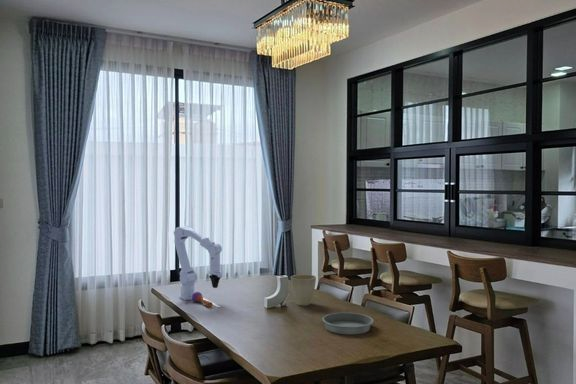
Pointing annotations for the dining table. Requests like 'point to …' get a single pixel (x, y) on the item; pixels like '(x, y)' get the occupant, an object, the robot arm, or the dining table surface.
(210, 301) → the strip
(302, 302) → the plant pot
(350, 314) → the cake pan
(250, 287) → the dining table surface
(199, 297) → the kendama
